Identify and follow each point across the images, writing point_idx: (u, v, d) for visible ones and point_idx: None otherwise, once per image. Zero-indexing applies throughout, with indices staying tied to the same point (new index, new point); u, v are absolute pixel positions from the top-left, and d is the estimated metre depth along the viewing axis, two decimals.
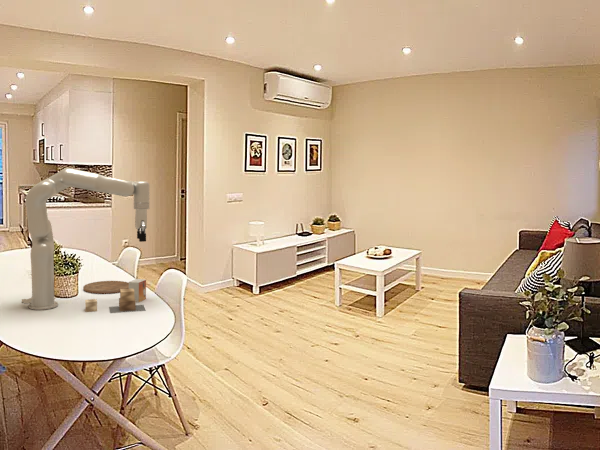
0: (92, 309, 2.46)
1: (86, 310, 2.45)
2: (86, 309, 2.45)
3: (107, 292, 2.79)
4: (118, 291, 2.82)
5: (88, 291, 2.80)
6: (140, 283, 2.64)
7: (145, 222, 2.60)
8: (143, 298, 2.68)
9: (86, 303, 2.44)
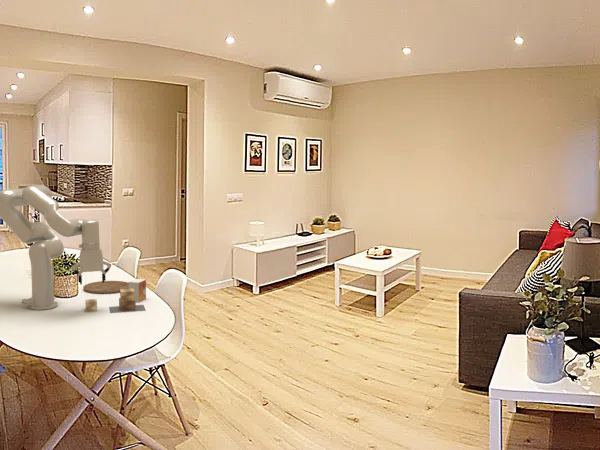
0: (92, 309, 2.46)
1: (86, 310, 2.45)
2: (86, 309, 2.45)
3: (107, 292, 2.79)
4: (118, 291, 2.82)
5: (88, 291, 2.80)
6: (140, 283, 2.64)
7: None
8: (143, 298, 2.68)
9: (86, 303, 2.44)
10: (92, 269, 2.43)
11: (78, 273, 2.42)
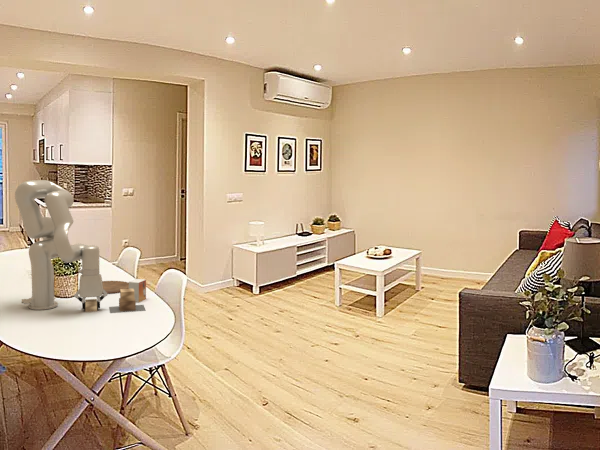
0: (92, 309, 2.46)
1: (86, 310, 2.45)
2: (86, 309, 2.44)
3: (107, 292, 2.79)
4: (118, 291, 2.82)
5: None
6: (140, 283, 2.64)
7: None
8: (143, 298, 2.68)
9: (86, 303, 2.44)
10: (91, 295, 2.44)
11: (82, 301, 2.44)
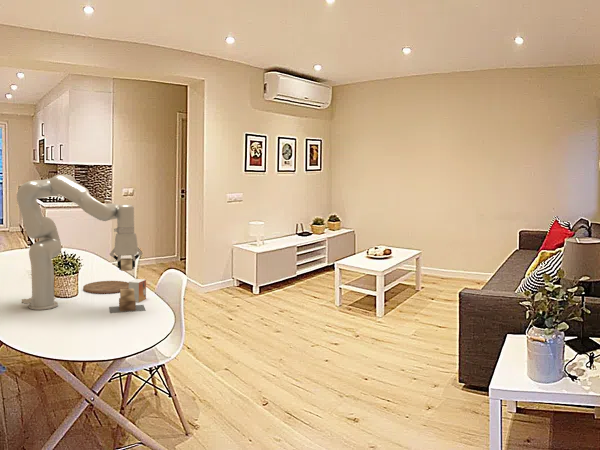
0: (127, 267, 2.47)
1: (122, 268, 2.46)
2: (122, 267, 2.46)
3: (107, 292, 2.79)
4: (118, 291, 2.82)
5: (88, 291, 2.80)
6: (140, 283, 2.64)
7: None
8: (143, 298, 2.68)
9: (122, 261, 2.46)
10: (127, 253, 2.46)
11: (117, 259, 2.46)
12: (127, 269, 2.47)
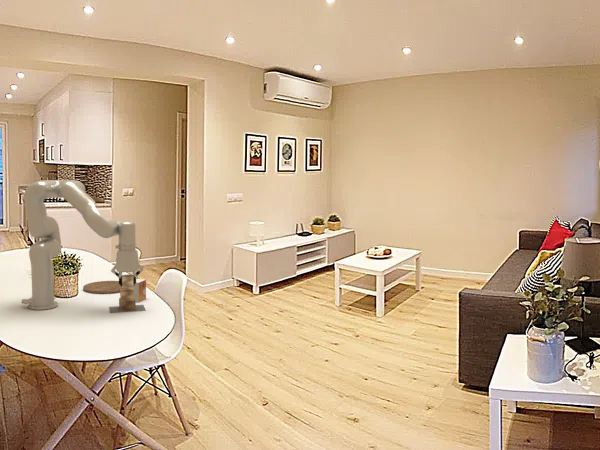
0: (129, 284, 2.48)
1: (123, 285, 2.47)
2: (123, 284, 2.47)
3: (107, 292, 2.79)
4: (118, 291, 2.82)
5: (88, 291, 2.80)
6: (140, 283, 2.64)
7: None
8: (143, 298, 2.68)
9: (123, 278, 2.47)
10: (128, 270, 2.47)
11: (118, 275, 2.47)
12: (128, 286, 2.48)
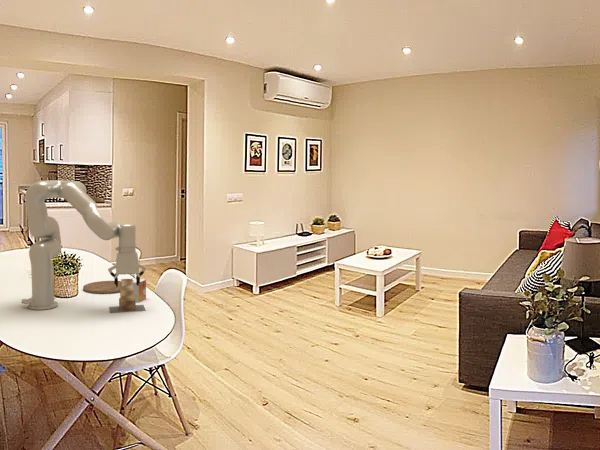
0: (128, 288, 2.49)
1: (122, 289, 2.48)
2: (122, 288, 2.48)
3: (107, 292, 2.79)
4: (118, 291, 2.82)
5: (88, 291, 2.80)
6: (140, 283, 2.64)
7: None
8: (143, 298, 2.68)
9: (123, 282, 2.47)
10: (128, 272, 2.47)
11: (114, 276, 2.47)
12: (128, 290, 2.49)
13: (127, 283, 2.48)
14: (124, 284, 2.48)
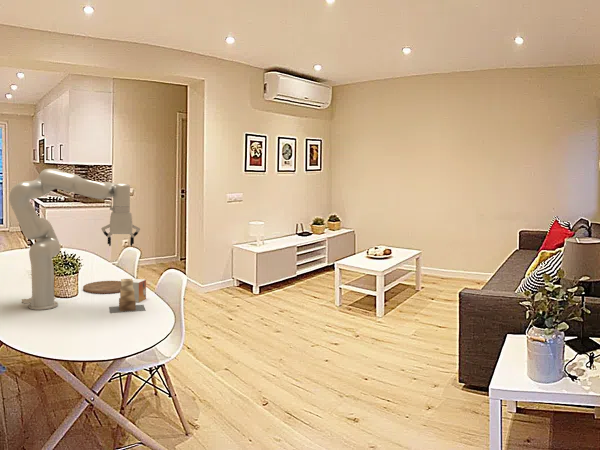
0: (128, 288, 2.49)
1: (122, 289, 2.48)
2: (122, 288, 2.48)
3: (107, 292, 2.79)
4: (118, 291, 2.82)
5: (88, 291, 2.80)
6: (140, 283, 2.64)
7: None
8: (143, 298, 2.68)
9: (123, 282, 2.47)
10: (121, 231, 2.47)
11: (108, 235, 2.47)
12: (128, 290, 2.49)
13: (127, 283, 2.48)
14: (124, 284, 2.48)
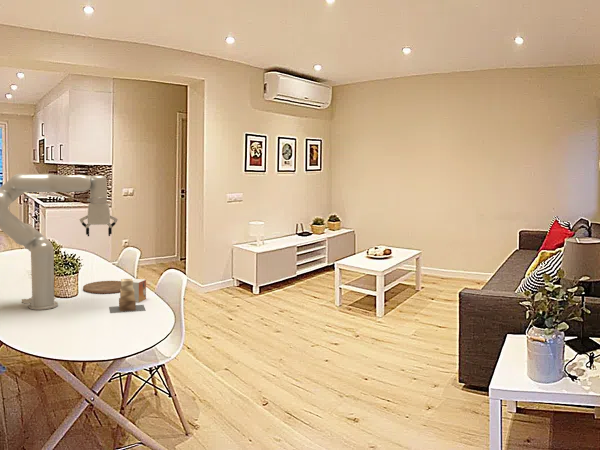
0: (128, 288, 2.49)
1: (122, 289, 2.48)
2: (122, 288, 2.48)
3: (107, 292, 2.79)
4: (118, 291, 2.82)
5: (88, 291, 2.80)
6: (140, 283, 2.64)
7: None
8: (143, 298, 2.68)
9: (123, 282, 2.47)
10: (99, 222, 2.56)
11: (86, 225, 2.55)
12: (128, 290, 2.49)
13: (127, 283, 2.48)
14: (124, 284, 2.48)
